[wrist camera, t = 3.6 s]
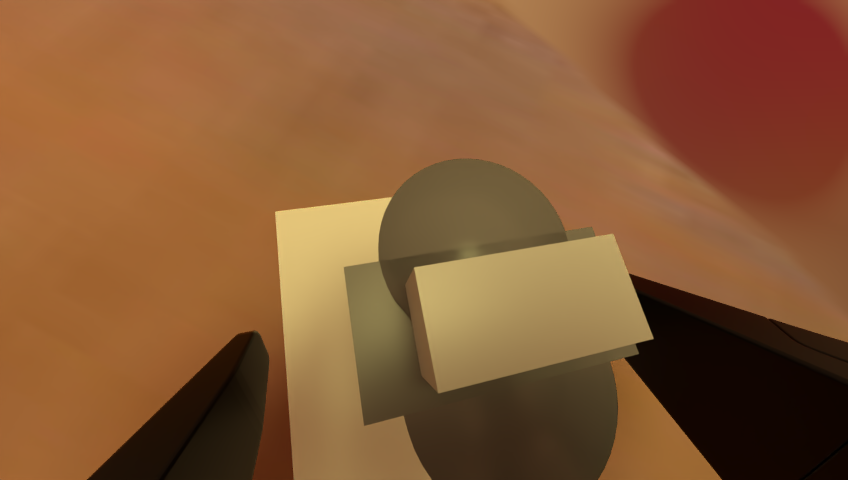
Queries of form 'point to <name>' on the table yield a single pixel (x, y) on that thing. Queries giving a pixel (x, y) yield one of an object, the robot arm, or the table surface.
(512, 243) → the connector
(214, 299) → the table surface
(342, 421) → the mat
